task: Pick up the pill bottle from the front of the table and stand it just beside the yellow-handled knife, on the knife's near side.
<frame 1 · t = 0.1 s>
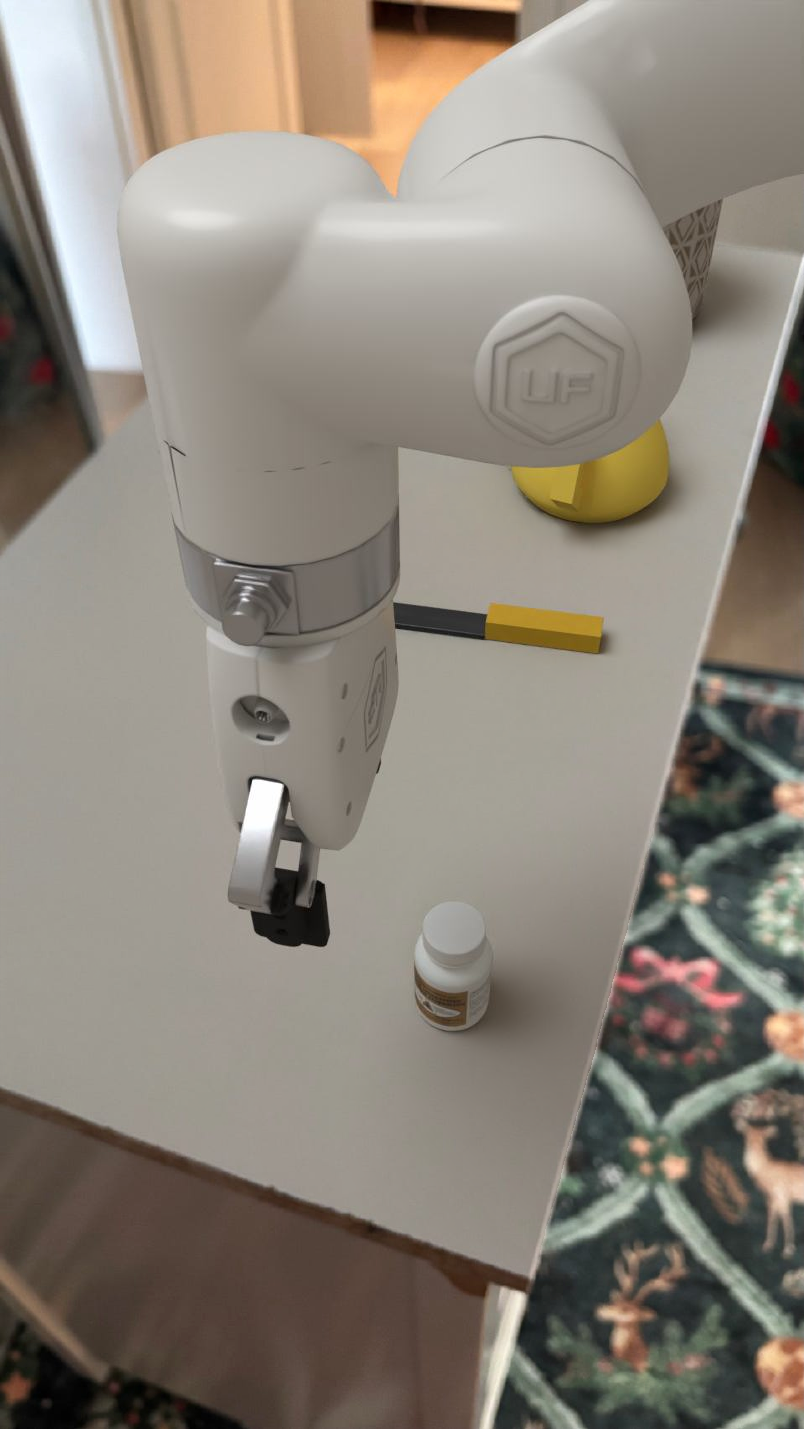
hand: (322, 846, 49), 18 cm above the table, tool pointing down, fingers open, 9 cm apart
teapot: (565, 483, 101), on the table
knife: (474, 627, 87), on the table
pill bottle: (451, 1000, 64), on the table
planter: (614, 312, 125), on the table
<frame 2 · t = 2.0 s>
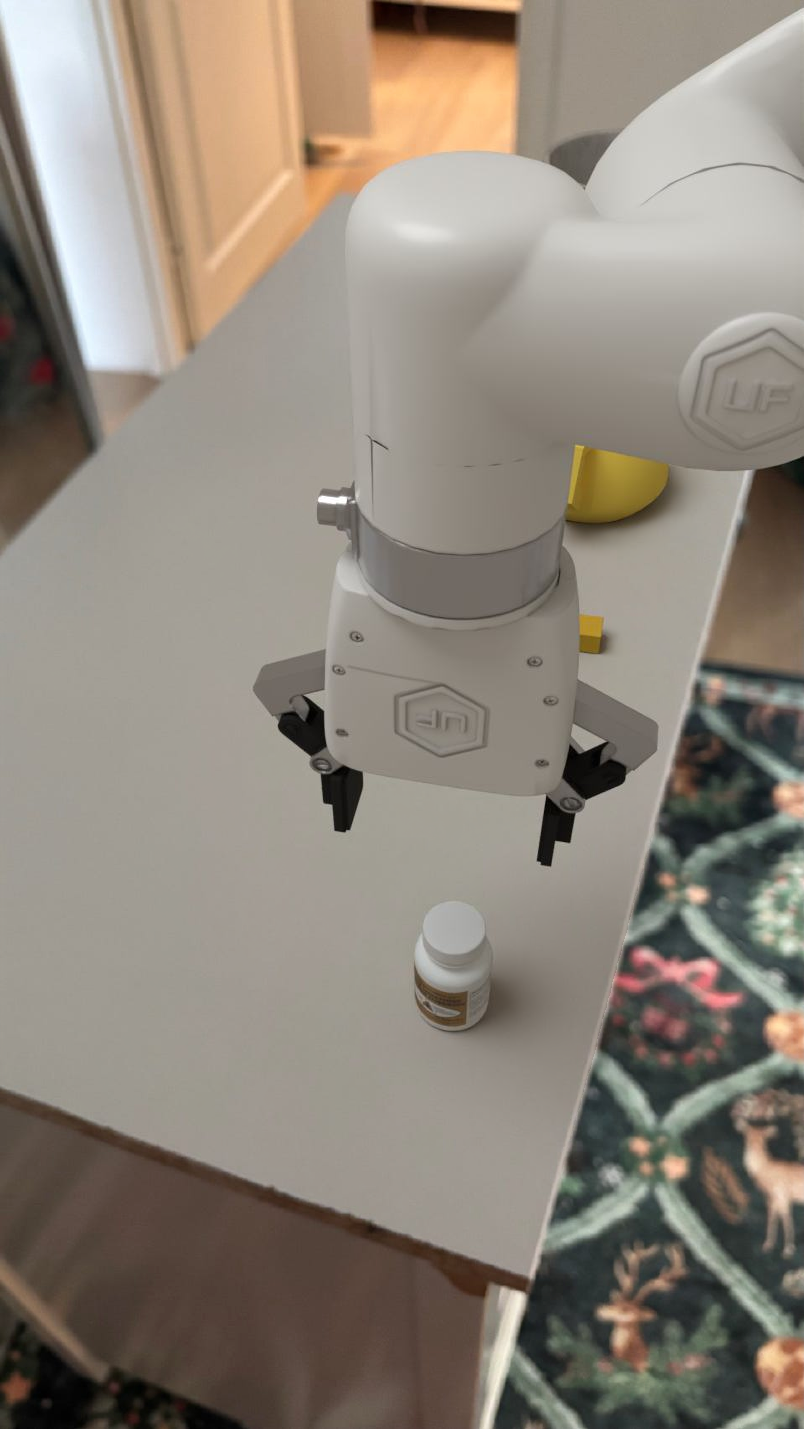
hand: (447, 825, 52), 17 cm above the table, tool pointing down, fingers open, 9 cm apart
nothing on the table moved.
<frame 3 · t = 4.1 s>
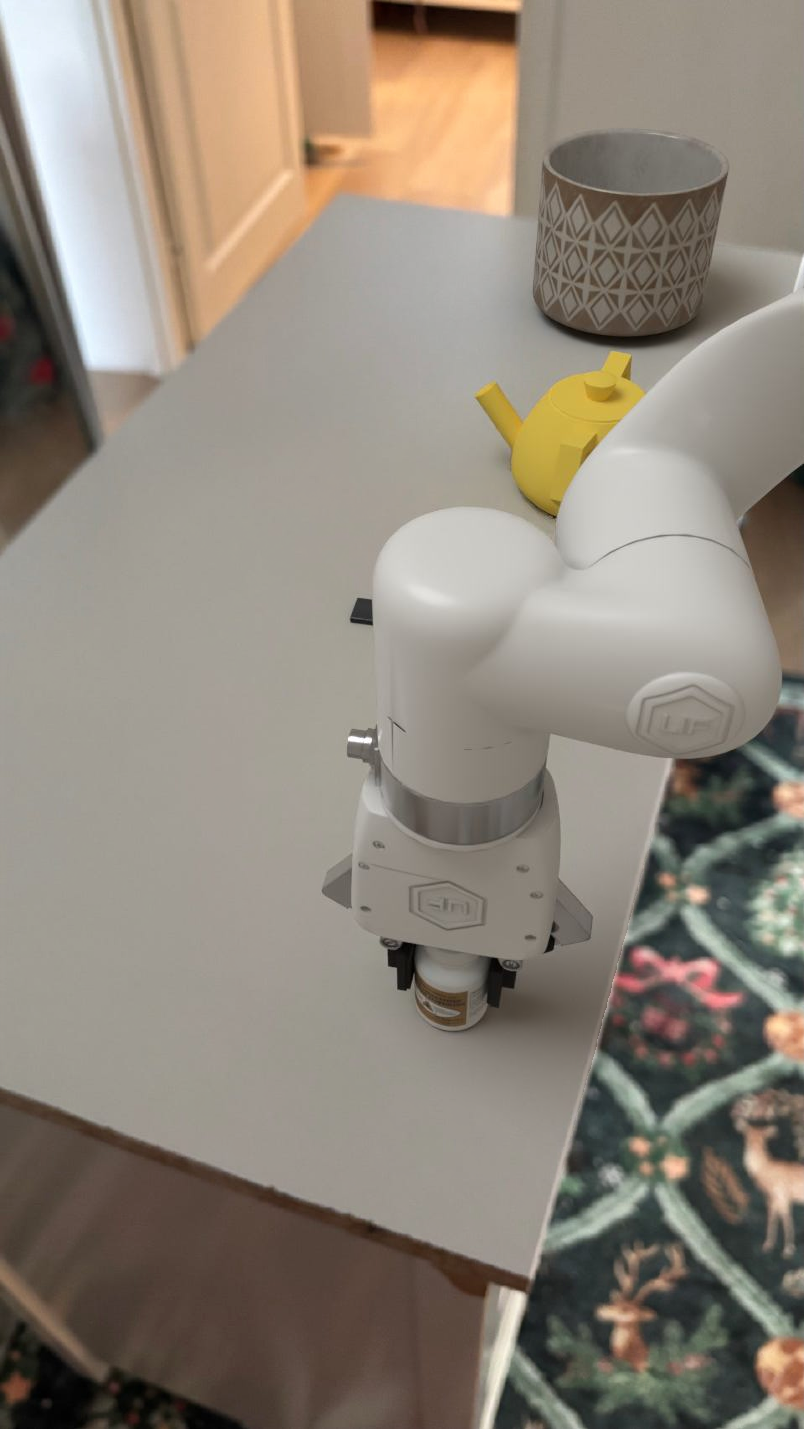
hand: (452, 974, 62), 3 cm above the table, tool pointing down, fingers closed on pill bottle, 4 cm apart
pill bottle: (451, 1000, 64), on the table, touching gripper
everything else where it was.
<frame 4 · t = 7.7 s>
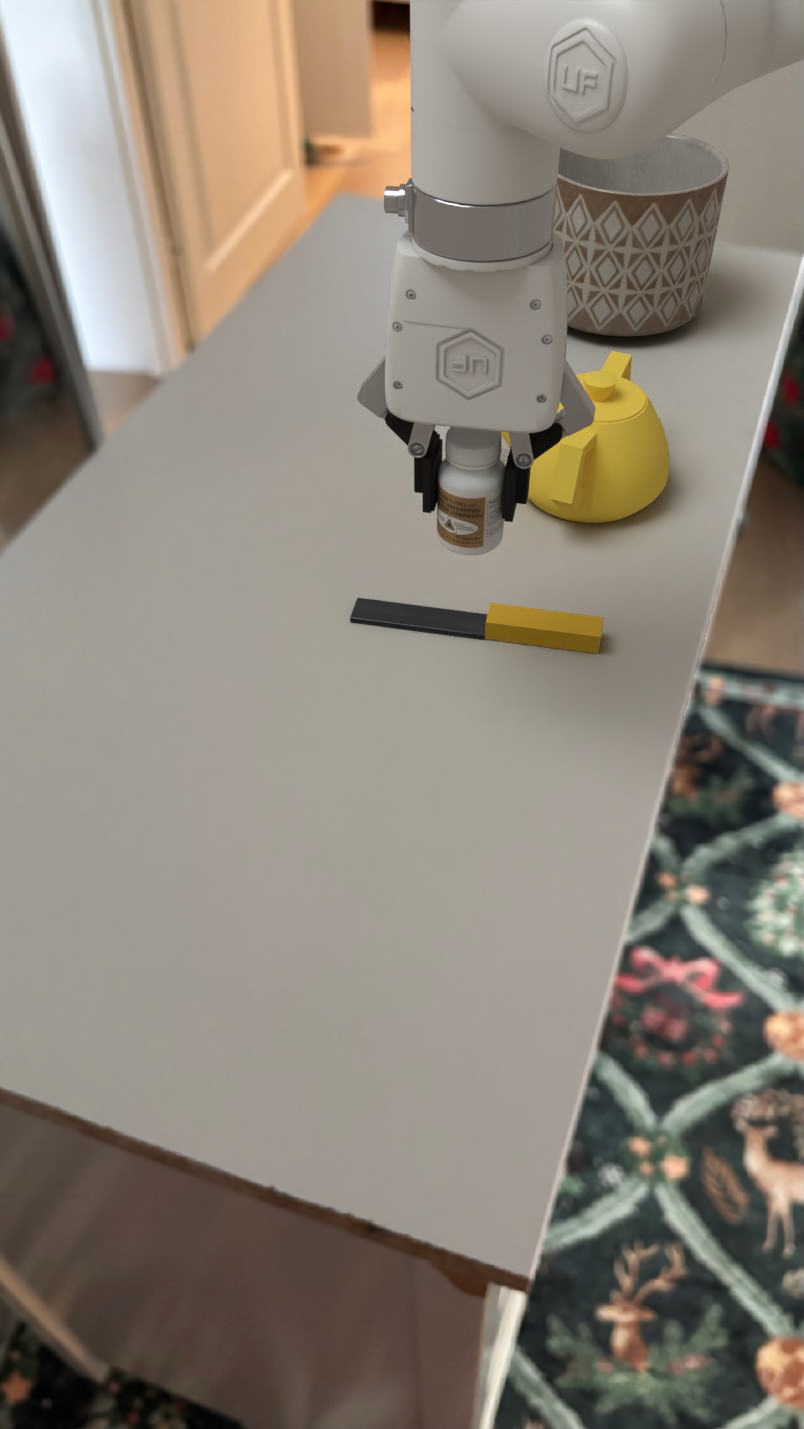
hand: (471, 502, 70), 17 cm above the table, tool pointing down, fingers closed on pill bottle, 4 cm apart
pill bottle: (469, 540, 72), point 14 cm above the table, touching gripper
everything else where it was.
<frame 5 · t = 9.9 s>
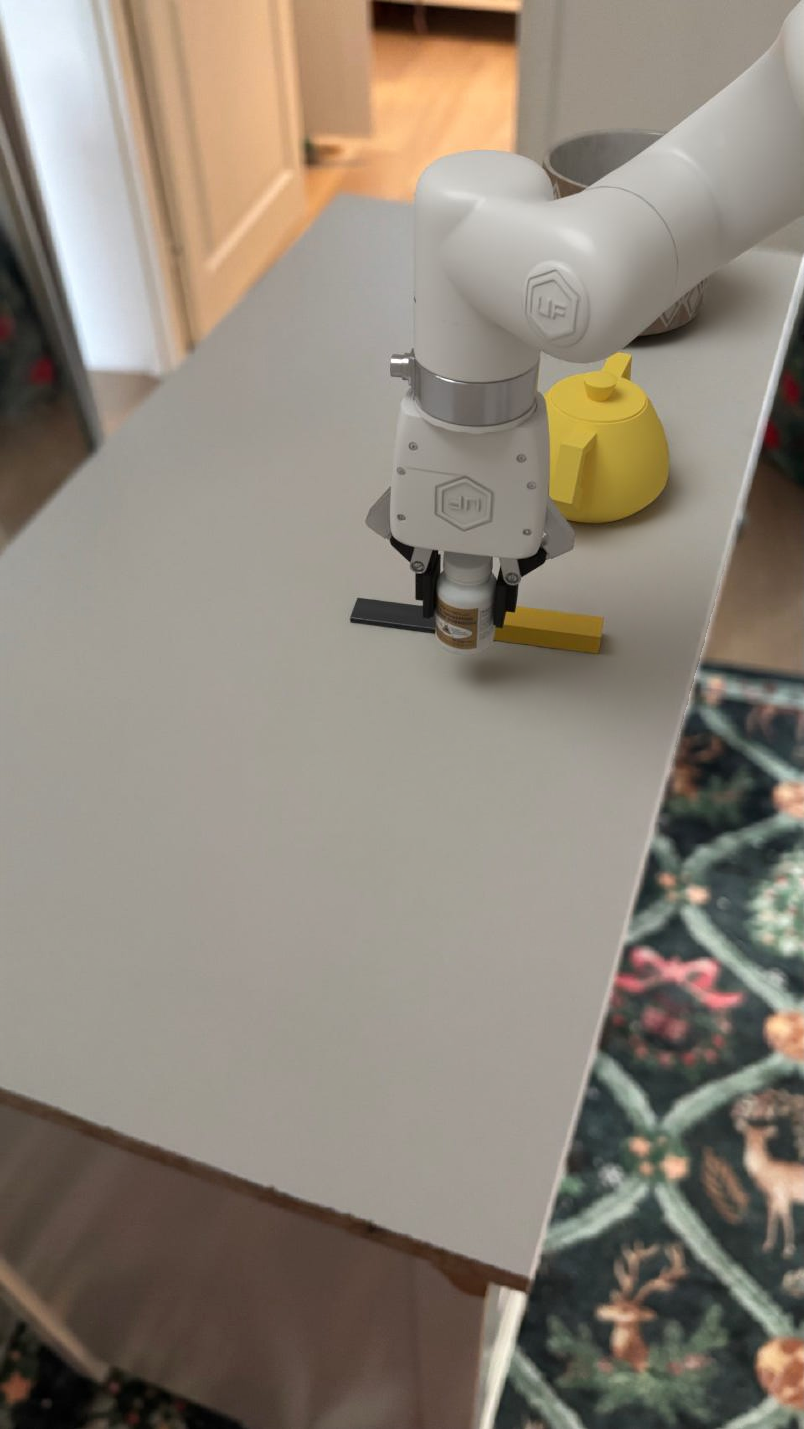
hand: (466, 608, 78), 7 cm above the table, tool pointing down, fingers closed on pill bottle, 4 cm apart
pill bottle: (464, 639, 80), point 4 cm above the table, touching gripper
everything else where it was.
when the fingers open (3 cm above the table, at t = 11.2 s): pill bottle stays where it is, on the table.
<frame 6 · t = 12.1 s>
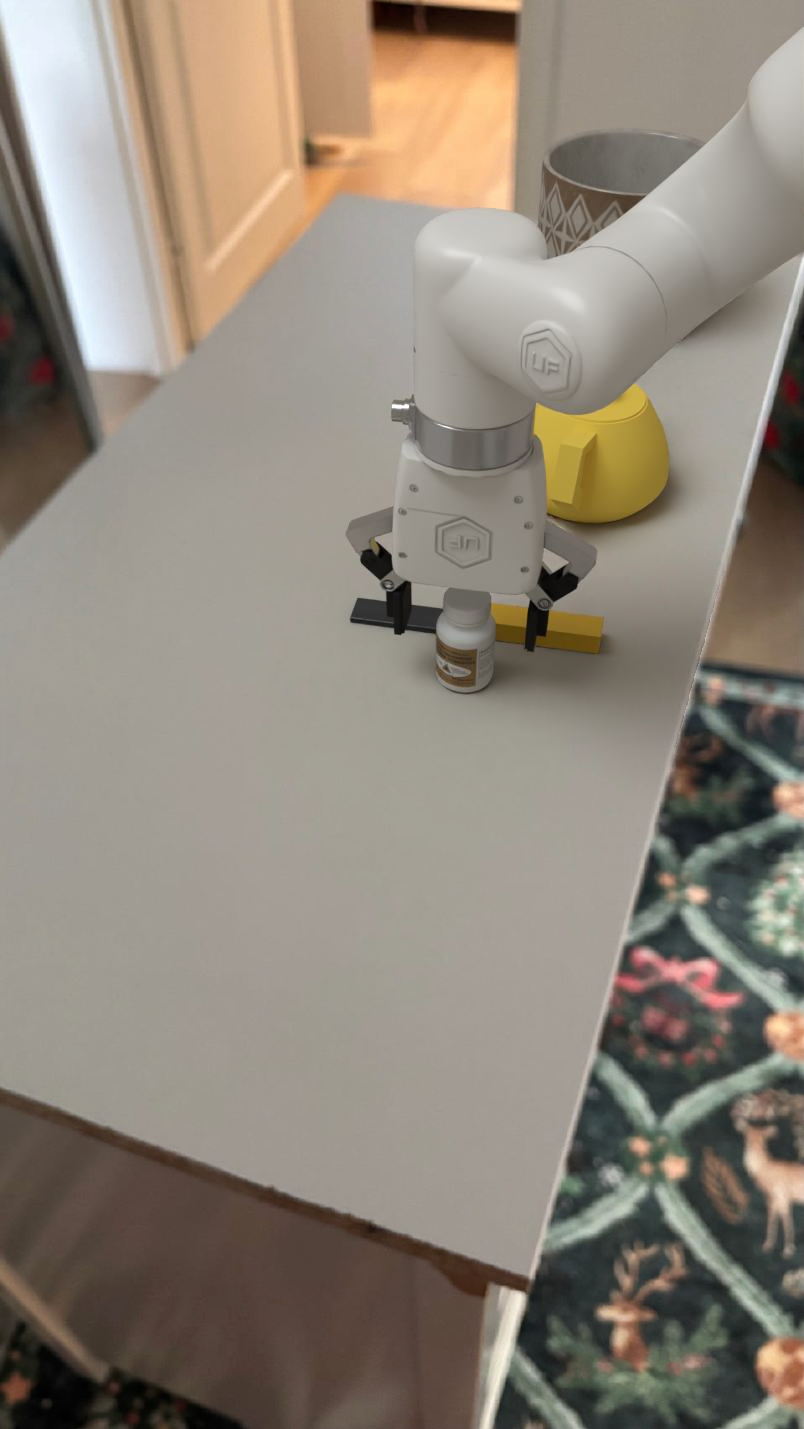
hand: (466, 631, 80), 4 cm above the table, tool pointing down, fingers open, 9 cm apart
pill bottle: (464, 676, 83), on the table
everything else where it was.
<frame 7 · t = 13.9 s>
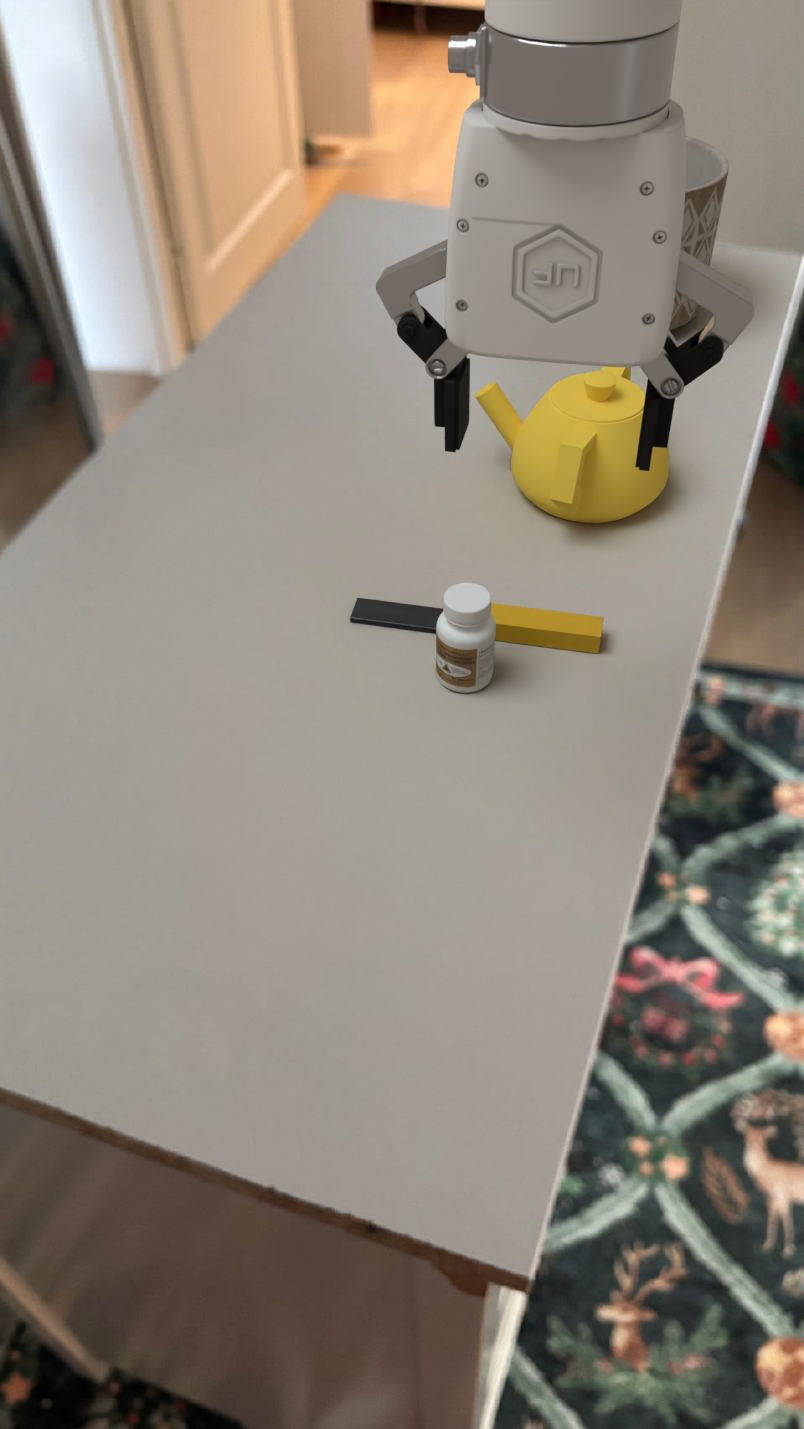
hand: (549, 447, 55), 27 cm above the table, tool pointing down, fingers open, 9 cm apart
nothing on the table moved.
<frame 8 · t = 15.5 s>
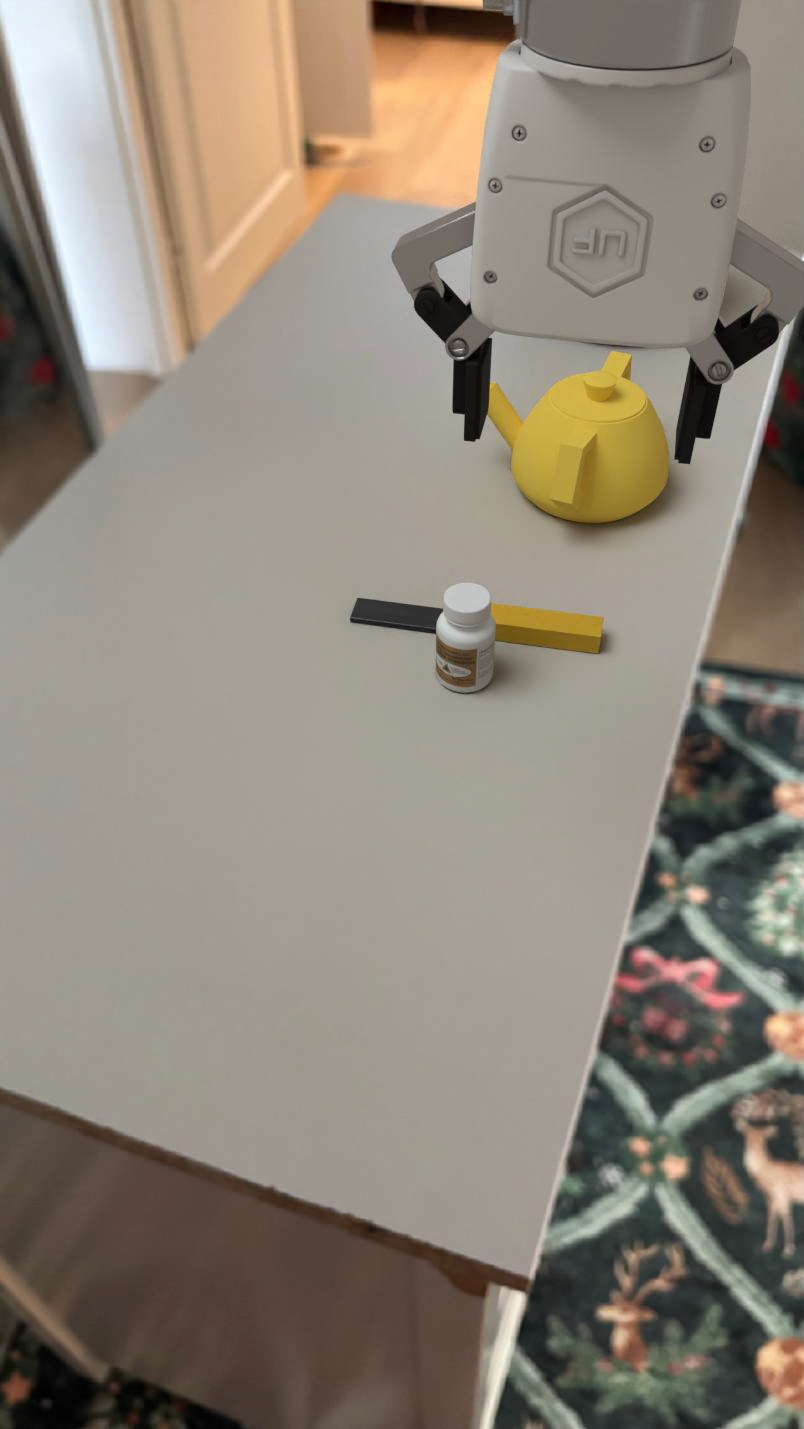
hand: (578, 437, 50), 30 cm above the table, tool pointing down, fingers open, 9 cm apart
nothing on the table moved.
at the end: pill bottle inside the target area on the table beside the knife (0.4 cm from its centre), on the table; pill bottle tilted 0° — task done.
